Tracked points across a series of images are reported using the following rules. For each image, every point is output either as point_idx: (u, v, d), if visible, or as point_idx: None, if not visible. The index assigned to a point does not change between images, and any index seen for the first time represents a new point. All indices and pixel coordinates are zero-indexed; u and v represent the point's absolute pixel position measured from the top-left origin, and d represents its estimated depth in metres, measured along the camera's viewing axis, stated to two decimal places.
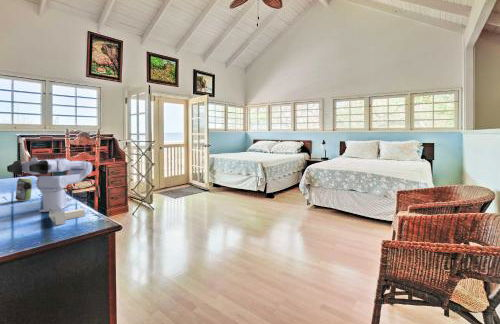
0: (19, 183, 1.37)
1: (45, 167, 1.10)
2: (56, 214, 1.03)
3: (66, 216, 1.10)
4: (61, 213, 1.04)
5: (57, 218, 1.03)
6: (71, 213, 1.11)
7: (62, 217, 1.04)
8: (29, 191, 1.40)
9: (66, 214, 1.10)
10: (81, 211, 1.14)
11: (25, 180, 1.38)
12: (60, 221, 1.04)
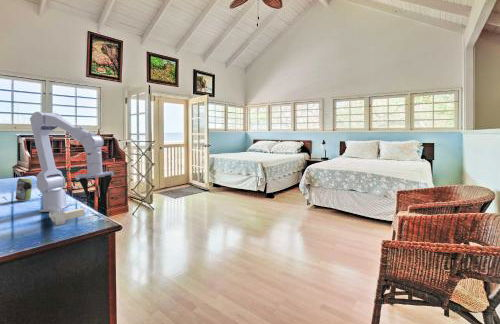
0: (19, 183, 1.37)
1: None
2: (56, 214, 1.03)
3: (67, 216, 1.10)
4: (61, 213, 1.04)
5: (57, 218, 1.03)
6: (72, 213, 1.11)
7: (62, 217, 1.04)
8: (29, 191, 1.40)
9: (67, 214, 1.10)
10: (81, 211, 1.14)
11: (25, 180, 1.38)
12: (60, 221, 1.04)
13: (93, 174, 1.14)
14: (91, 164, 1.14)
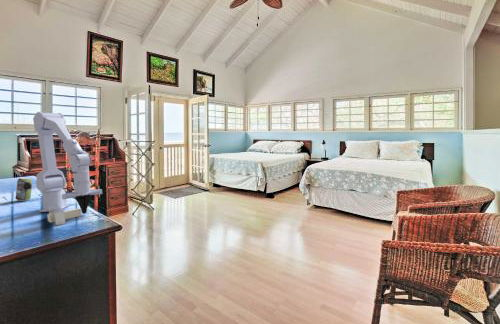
0: (19, 183, 1.37)
1: None
2: (56, 214, 1.03)
3: None
4: (61, 213, 1.04)
5: (57, 218, 1.03)
6: (68, 213, 1.11)
7: (62, 217, 1.04)
8: (29, 191, 1.40)
9: None
10: (78, 211, 1.14)
11: (25, 180, 1.38)
12: (60, 221, 1.04)
13: (80, 193, 1.12)
14: (78, 183, 1.11)
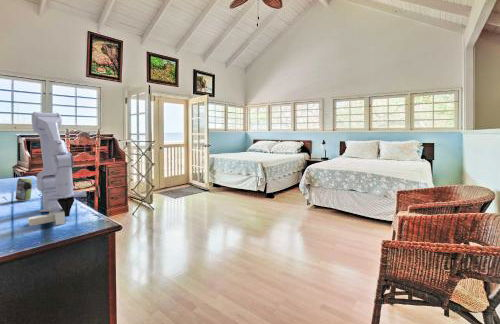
0: (19, 183, 1.37)
1: None
2: (56, 214, 1.03)
3: (43, 220, 1.05)
4: (61, 213, 1.04)
5: (57, 218, 1.03)
6: (49, 217, 1.06)
7: (62, 217, 1.04)
8: (29, 191, 1.40)
9: (43, 218, 1.05)
10: None
11: (25, 180, 1.38)
12: (60, 221, 1.04)
13: (62, 196, 1.07)
14: (60, 185, 1.07)
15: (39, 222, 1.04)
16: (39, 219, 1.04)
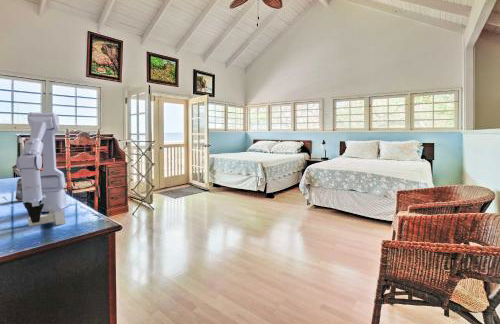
0: (19, 183, 1.37)
1: None
2: (56, 214, 1.03)
3: (43, 220, 1.05)
4: (61, 213, 1.04)
5: (57, 218, 1.03)
6: (49, 216, 1.06)
7: (62, 217, 1.04)
8: None
9: (43, 218, 1.05)
10: None
11: None
12: (60, 221, 1.04)
13: (42, 197, 1.04)
14: (39, 186, 1.03)
15: (39, 222, 1.04)
16: None
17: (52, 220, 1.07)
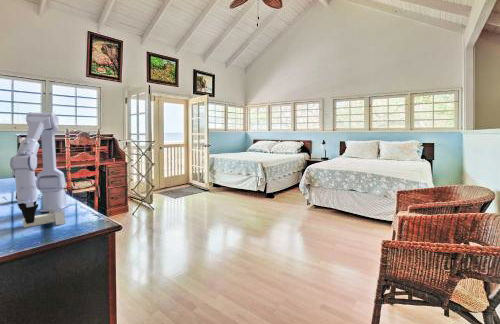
0: None
1: None
2: (56, 214, 1.03)
3: (38, 220, 1.03)
4: (61, 213, 1.04)
5: (57, 218, 1.03)
6: (44, 217, 1.05)
7: (62, 217, 1.04)
8: None
9: (38, 218, 1.03)
10: None
11: None
12: (60, 221, 1.04)
13: (36, 197, 1.02)
14: (34, 187, 1.01)
15: (34, 222, 1.02)
16: (34, 219, 1.02)
17: (47, 221, 1.05)
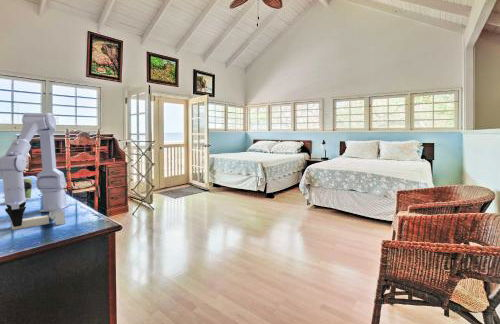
0: None
1: None
2: (56, 214, 1.03)
3: (27, 223, 1.01)
4: (61, 213, 1.04)
5: (57, 218, 1.03)
6: (33, 220, 1.02)
7: (62, 217, 1.04)
8: (29, 191, 1.40)
9: (27, 221, 1.01)
10: (45, 218, 1.04)
11: (25, 180, 1.38)
12: (60, 221, 1.04)
13: (24, 199, 1.00)
14: (22, 188, 0.99)
15: (22, 226, 1.00)
16: (22, 222, 1.00)
17: (36, 224, 1.03)
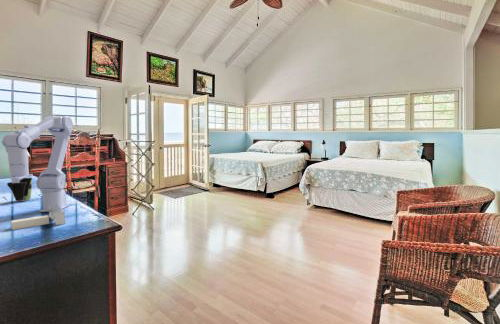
0: None
1: None
2: (56, 214, 1.03)
3: (27, 223, 1.01)
4: (61, 213, 1.04)
5: (57, 218, 1.03)
6: (33, 220, 1.02)
7: (62, 217, 1.04)
8: (29, 191, 1.40)
9: (27, 221, 1.01)
10: (45, 218, 1.04)
11: None
12: (60, 221, 1.04)
13: (27, 175, 1.06)
14: (24, 164, 1.05)
15: (22, 226, 1.00)
16: (22, 222, 1.00)
17: (36, 224, 1.03)
